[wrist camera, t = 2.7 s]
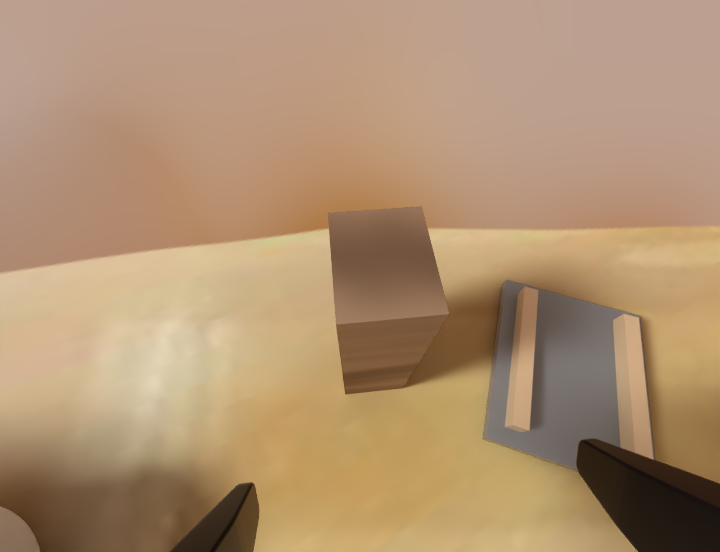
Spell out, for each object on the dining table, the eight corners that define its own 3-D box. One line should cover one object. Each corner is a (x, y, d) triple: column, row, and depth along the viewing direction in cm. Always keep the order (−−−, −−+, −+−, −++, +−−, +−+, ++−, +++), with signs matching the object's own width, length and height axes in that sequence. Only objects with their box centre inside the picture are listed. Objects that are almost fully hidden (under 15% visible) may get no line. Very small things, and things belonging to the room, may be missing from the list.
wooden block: (403, 388, 23) (450, 313, 12) (345, 394, 23) (336, 324, 11) (392, 321, 25) (422, 206, 14) (339, 325, 25) (328, 213, 14)
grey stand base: (648, 496, 20) (676, 499, 18) (482, 439, 21) (494, 436, 20) (632, 320, 26) (652, 309, 24) (502, 284, 27) (512, 271, 25)
